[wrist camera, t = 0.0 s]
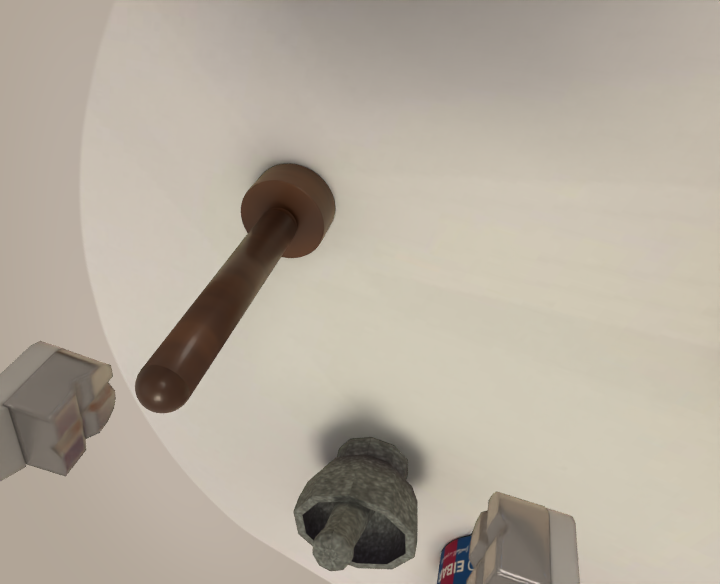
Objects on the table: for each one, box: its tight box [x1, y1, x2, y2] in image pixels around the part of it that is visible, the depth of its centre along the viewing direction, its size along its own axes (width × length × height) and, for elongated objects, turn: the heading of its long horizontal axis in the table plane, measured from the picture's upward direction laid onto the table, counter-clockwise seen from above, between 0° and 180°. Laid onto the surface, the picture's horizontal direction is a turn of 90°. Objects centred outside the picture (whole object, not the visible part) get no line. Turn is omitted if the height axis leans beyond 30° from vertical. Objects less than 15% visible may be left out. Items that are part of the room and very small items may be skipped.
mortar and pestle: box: [294, 437, 417, 571], centre depth 44 cm, size 11×9×12 cm
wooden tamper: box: [135, 164, 335, 413], centre depth 29 cm, size 5×5×17 cm
